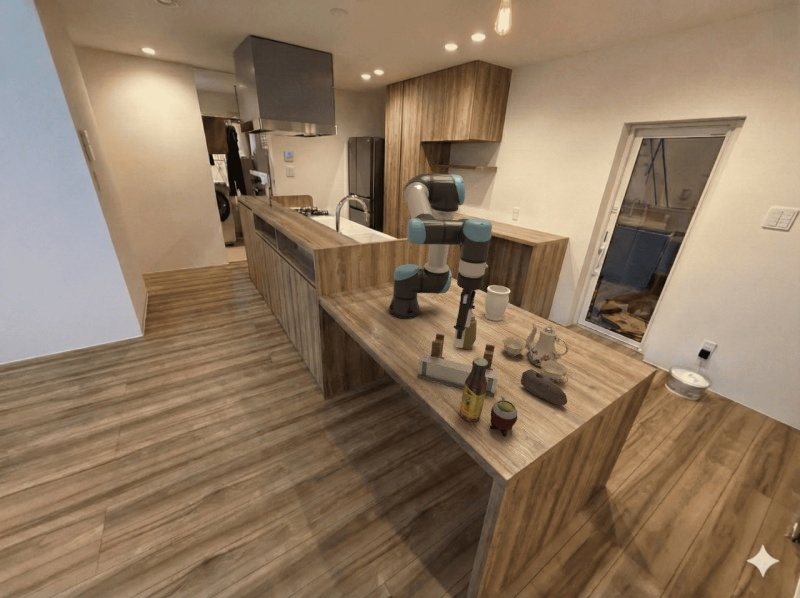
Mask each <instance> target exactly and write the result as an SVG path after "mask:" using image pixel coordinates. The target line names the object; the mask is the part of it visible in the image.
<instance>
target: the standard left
mask: <svg viewBox="0 0 800 598" xmlns="http://www.w3.org/2000/svg"><path fill="white" fill-rule="evenodd" d="M444 343H445V334H442V333H437V332H436V335H435V339H434V340H432V341H431V350H430V356H432V357H437V358H441V359H445V356H443V353H444V352H443V351H444ZM445 360H446V359H445Z"/></svg>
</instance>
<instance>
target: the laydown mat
mask: <svg viewBox="0 0 800 598" xmlns="http://www.w3.org/2000/svg"><path fill="white" fill-rule="evenodd" d="M416 377H417V378H419V379H423V380H426V381H431V382H434V383H439V384H442V385H446V386H450V387H454V388H457V389H461V390H463V389H464V386H460V385H456V384H453V383H449V382H445V381H441V380H437V379H433V378H429V377H425V376H422V375H418V374H417V375H416ZM485 396H488V397H493V398H494V397H495V394H491V393H487V392H486V394H485Z"/></svg>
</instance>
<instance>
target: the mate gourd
mask: <svg viewBox="0 0 800 598" xmlns="http://www.w3.org/2000/svg"><path fill="white" fill-rule="evenodd" d="M500 398H501V399H500V400H498V401H496V402H495V403H494V404H493V405H492V407H491V410H490V425H489V429H490V430H500V432H501V435H502V437H503V438H505V437H507V434H506V433H507V431H508V430H512V429H513V426H515V424H516V423H517V421H518V409H517V408H516V406H515V405H514V404H513V403H512V402H510V401H508V400H506V399H505V396H504V395H503V396H500Z"/></svg>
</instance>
